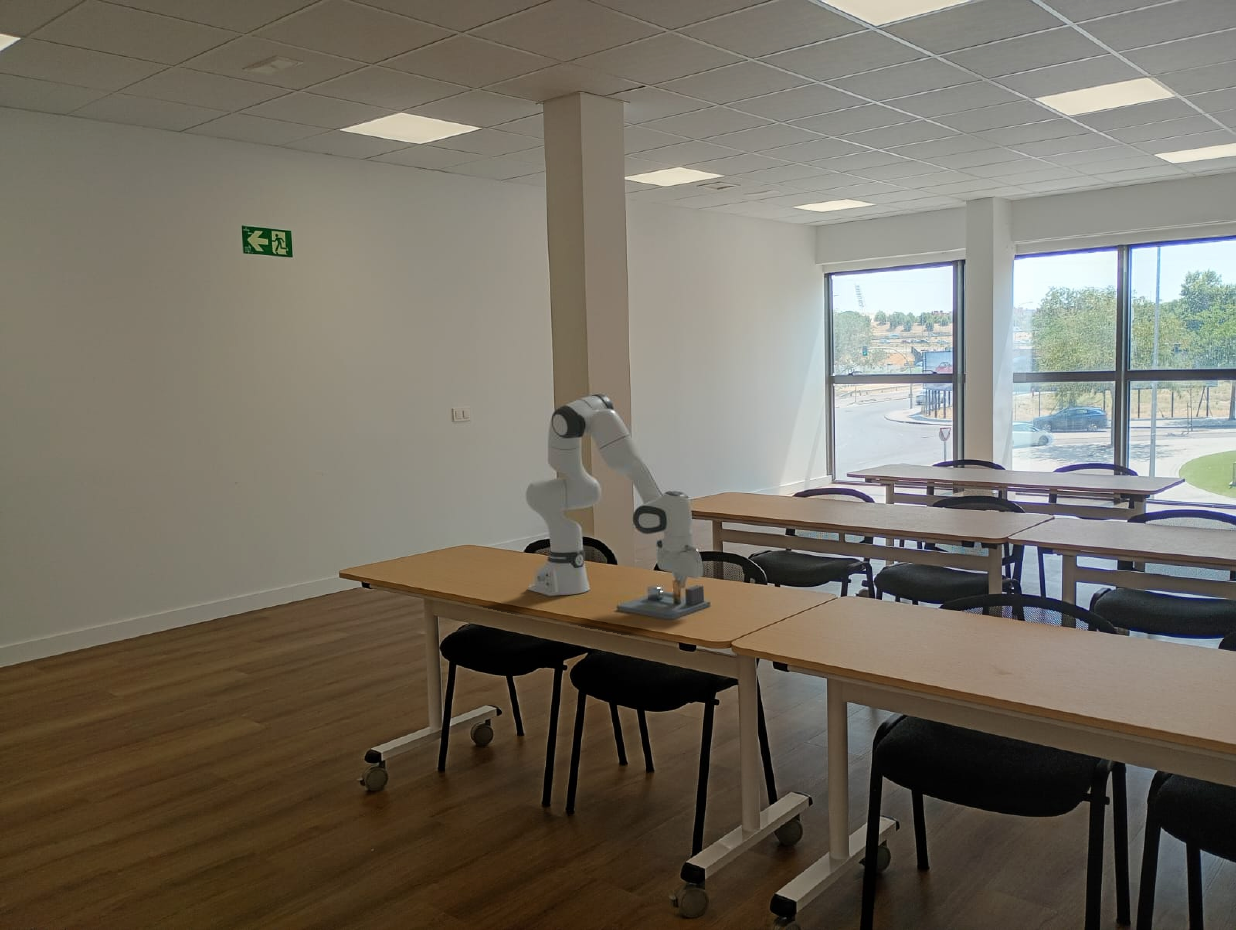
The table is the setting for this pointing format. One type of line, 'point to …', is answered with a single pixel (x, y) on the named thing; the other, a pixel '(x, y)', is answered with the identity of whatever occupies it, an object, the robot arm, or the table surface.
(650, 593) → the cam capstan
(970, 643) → the table surface
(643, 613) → the stand
